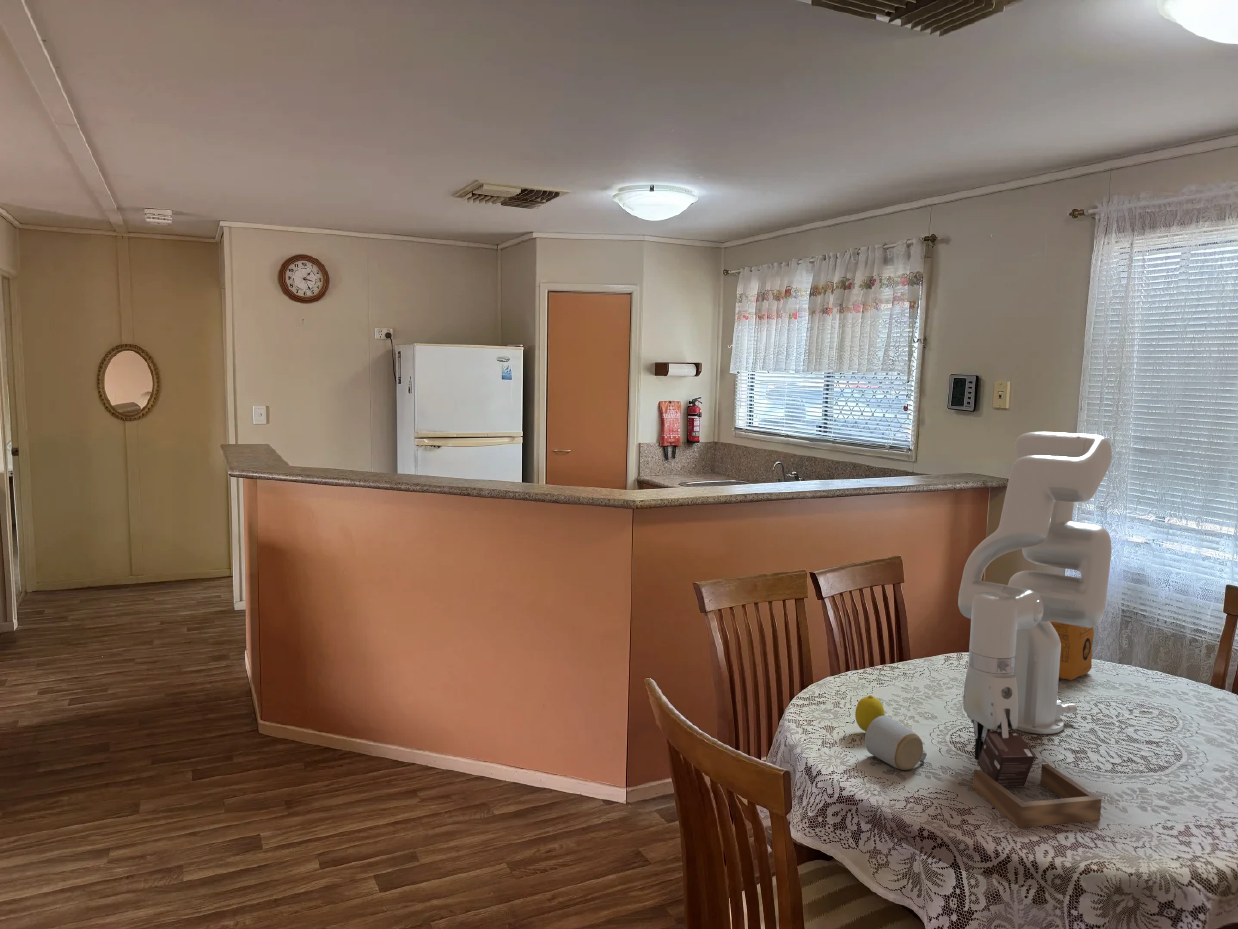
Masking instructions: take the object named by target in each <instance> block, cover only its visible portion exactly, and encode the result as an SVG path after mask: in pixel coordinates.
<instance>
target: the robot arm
mask: <svg viewBox="0 0 1238 929" xmlns="http://www.w3.org/2000/svg"><path fill="white" fill-rule="evenodd" d="M1112 454H1113V451H1112V444H1111V443H1110V442H1109V440H1108V439H1107V438H1106V437H1105V436H1102V435H1099V434H1091V433H1075V432H1074V433H1072V432H1071V433H1070V432H1059V431H1055V432H1054V431H1032V432H1031V431H1030V432H1025V433H1023V434H1021V435H1018V437H1017V438H1016V440H1015V443H1014V456H1015V459H1016V460H1015V461H1014V462H1013V464H1012V465H1011V468H1010V472H1009V477H1008V481H1007V486H1006V490H1005V495H1004V501H1003V505H1002V510H1001V514H1000V515H1001V516H1000V520H999V525H998V527H997V529H996V530H995V531H994V532H992V533H991V534H990V535H988V536H987V537H986V538H985V539H983V540H982V541H981V542H980V543H979V544H978V545H977V546H976V547H975V548H974V549H973V550H972V551H971V554H970V555H969V556H968V558H967V560H966V562H965V564H964V568H963V572H962V575H961V576H962V578H961V582H960V586H959V591H958V600H957V601H958V604H957V606H958V609H959V611H960V613H961V615H962V616H964V617H965V618H967V619H969V620H970V631H969V632H970V635H969V647H968V648H969V649H968V665H967V668H966V674H965V680H964V685H963V686H964V688H963V698H962V699H963V700H962V703H963V704H962V705H963V707H962V708H963V711H964V712H965V714H966V717H967V718H968V719H969V721H971V723H972V726H973V735H974V738H975V744H974V755H973V756H974V759H975V760H976V761H978V759H979V755H980V752H981V749H982V746H983V743H984V740H985V737H986V733H987V732H998V733H999V735H1000V736H1001V737H1002V739H1004V738H1009V735H1008V732H1009V730H1010V731H1018V730H1019V731H1022V732H1025V733H1031V734H1036V735H1037V734H1039V735H1051V734H1056V733H1060V732H1062V731H1064V728H1065V727H1064V726H1065V721H1064V720H1063V719H1062V717H1061V716H1064V714H1076V713H1077V711H1078V708H1077V704H1075V703H1064V704H1063V701H1061V700H1058V692H1059V691H1058V690H1059V679H1060V678H1059V667H1060V653H1061V642H1060V638H1059V636H1058V634H1057V632H1056V630H1055V629H1054V627H1053V626H1052V624H1051V623H1050V622H1058V623H1063V624H1068V625H1074V626H1080V627H1088V628H1090V627H1093V628H1094V627H1097V626H1098V625H1099V624H1100V623H1101V622H1102V620H1103V617H1104V616H1105V615H1104V614H1105V610H1106V601H1107V594H1108V585H1109V578H1110V577H1109V576H1110V569H1111V561H1112V540H1111V536H1110V533H1109V532H1108V530H1107V529H1106V528H1104V527H1102V526H1100V525H1097V524H1092V523H1084V522H1077V521H1073V516H1074V515H1073V512H1074V506H1075V504H1078V503H1079V504H1081V503H1082V504H1083V503H1087V502H1089V501H1090V500H1091V499H1092V498H1093V497H1094V495H1095V494H1096V492H1097V490H1098V488H1099V486H1100V485H1101V482H1102V481H1103V480H1104V478H1105V476H1106V475H1107V472H1108V470H1109V468H1110V465H1111V462H1112V457H1113V456H1112ZM1018 550H1021V552H1022V556H1023V557H1024V559H1025V560H1027V561H1028V562H1030V563H1033V564H1036V565H1041V566H1047V567H1053V568H1059V569H1066V570H1074V571H1077V572H1079V573H1080V577H1078V576H1070V575H1063V574H1058V573H1053V572H1047V571H1039V570H1022V571H1018V572H1016V573H1015V574H1013V575H1012V576H1010V578H1009V581H1008V584H1003V583H997V582H992V581H984V580H982V578H983V575H984V572H985V571H986V569H987V568H988V566H989V565H990V563H992V562H993V561H994V560H996V559H997V558H999V557H1001V556H1003V555H1005V554H1007V553H1011V552H1014V551H1018Z"/></svg>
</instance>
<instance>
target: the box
mask: <svg viewBox="0 0 1238 929" xmlns="http://www.w3.org/2000/svg"><path fill="white" fill-rule="evenodd" d="M1008 735H1009V738H1004V739H1002V737H1001V736H1000V735H999V733H998V732H987V733H986V737H985V740H984V743H983V746H982V749H981V752H980V755H979V759H978V760H977V765H978V767H979V768H980V770H981V771H983V772H984V773H985V774H987V775H988V776H989V777H991V778H992V779H993V780H995V781H996V782H997V783H999V784H1000V785H1001V786H1003V787H1004V788H1024V787H1025V786H1026V784H1027V781H1028V778H1029V775H1030V772H1031V770H1032V767H1033V764H1034V761H1035V759H1036V755H1035V753H1034V752H1033V750H1031V748H1030V746H1029V744H1028V743H1027V742H1026V740H1025V739H1024V738H1023V737H1022V735H1021V734H1020V732H1019V731H1018V730H1012V731H1008Z"/></svg>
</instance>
